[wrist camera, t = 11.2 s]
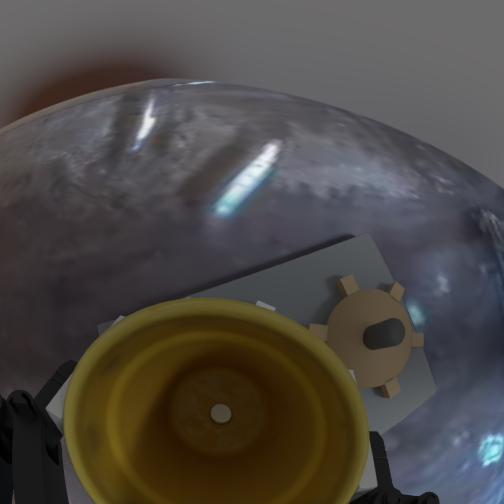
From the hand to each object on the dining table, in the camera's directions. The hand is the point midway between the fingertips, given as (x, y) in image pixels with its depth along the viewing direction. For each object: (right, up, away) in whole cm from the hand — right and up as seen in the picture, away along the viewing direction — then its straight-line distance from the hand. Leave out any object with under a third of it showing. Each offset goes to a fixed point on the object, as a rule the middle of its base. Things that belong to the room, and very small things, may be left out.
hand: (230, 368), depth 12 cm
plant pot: (-1, -4, +3) cm, 5 cm away
